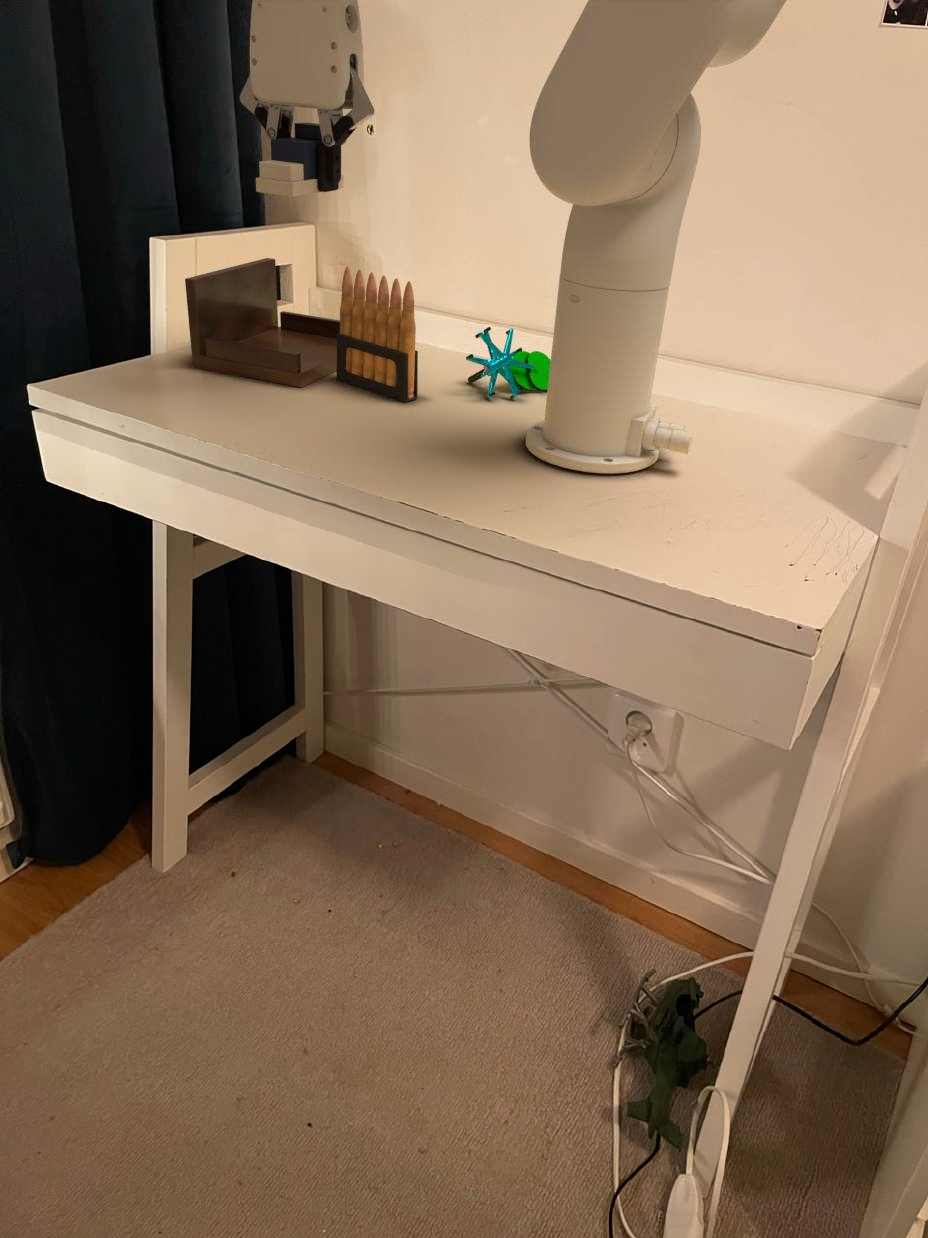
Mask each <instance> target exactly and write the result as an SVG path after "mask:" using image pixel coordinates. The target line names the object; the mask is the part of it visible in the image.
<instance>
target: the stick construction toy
mask: <svg viewBox="0 0 928 1238" xmlns="http://www.w3.org/2000/svg"><path fill="white" fill-rule="evenodd" d="M491 330H492V327H490V326H488V327H486V328H485V329H483V332H482V331H480V332H478V333H476V334H475V335H474V337H475V338H476V339H479V338H480V339H481V340H482V341H483V342H484V343H485V344H486V346H487V349H488V353H489V356H490V359H486V358H481V357H477V356H474V354H473V353H470V354H469V355H467V356H466V357H465V360H466V361H468V362H471V363H475V364H477V365H481V366H482V367H483V368H482V369H480V370H478V371H477V372H475V373H473V374H472V375H470V376H468V377H467V382H468V383H469V384H473V383H476V382H478V381H479V380H481V379H483V378H485V377H486V376H487V377H490V379H489V385H488V390H487V398H488V399H490V398H493V397H494V396H496V392H495V391H494V390H495V386H496V383H497V379H498V375H500V376H501V377H502V378H503V379H504V380H505V381H506V382H507V383H508V384H509V387H510V390H511V393H512V394H510V400H513V399H516V398H517V397H518V395H519V394H520V393H523V392H524V391H526V392H532V391H534V390H537V391H541V392H544V391H547V390H548V381H549V372H550V362H551V358H550V357H549V356H548V355H546V354H545V353H543V352H542V351H539V350H534V351H531V352H529V351H526V350H523V348H522V347H519V348H517V349H515V350H514V351H512V352H511V349H512V343H513V337H514V336H513V335H514V329H513V328H510V329H508V330H506V331H505V335H506V336H507V337H506V340H505V344H504V348H503V351H501V349H499V348H498V346H496V344H494V342H492V338H491V335H490V331H491Z"/></svg>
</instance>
